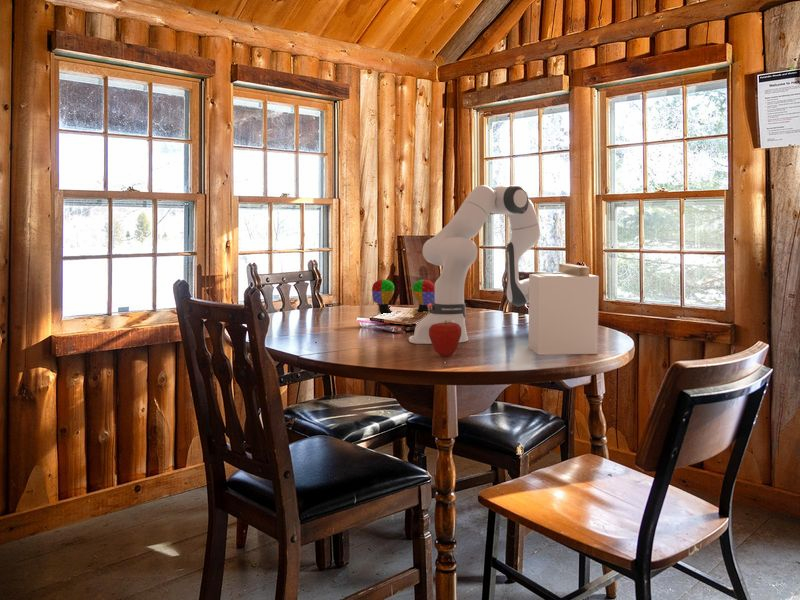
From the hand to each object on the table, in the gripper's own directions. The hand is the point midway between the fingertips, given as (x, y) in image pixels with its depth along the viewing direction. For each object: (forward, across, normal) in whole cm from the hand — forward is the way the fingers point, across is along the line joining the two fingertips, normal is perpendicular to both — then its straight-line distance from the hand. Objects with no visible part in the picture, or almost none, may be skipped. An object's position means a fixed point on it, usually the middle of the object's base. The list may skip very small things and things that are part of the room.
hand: (559, 283), depth 257 cm
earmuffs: (-52, -56, -5) cm, 76 cm away
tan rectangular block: (+18, 0, +5) cm, 18 cm away
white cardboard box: (+9, -5, +30) cm, 32 cm away
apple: (+14, -46, +33) cm, 58 cm away
